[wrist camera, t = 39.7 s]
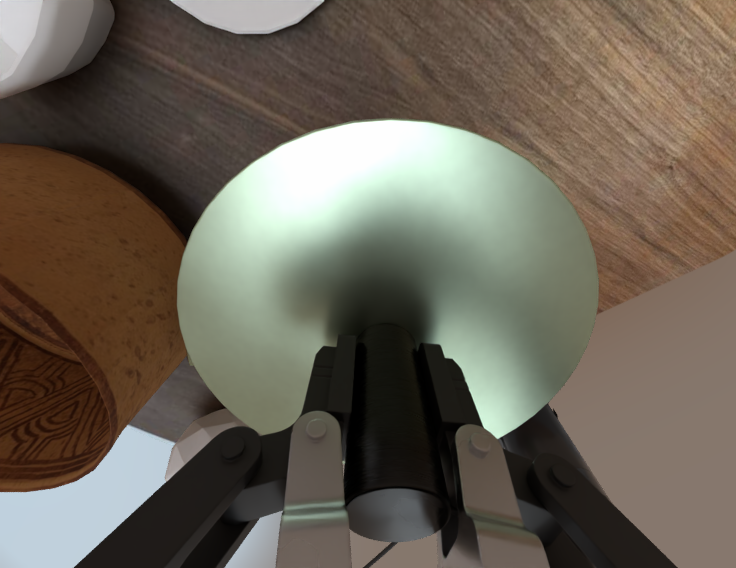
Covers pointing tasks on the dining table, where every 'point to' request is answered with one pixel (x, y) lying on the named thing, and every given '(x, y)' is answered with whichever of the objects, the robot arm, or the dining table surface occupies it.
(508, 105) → the dining table surface
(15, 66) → the bowl
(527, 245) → the lid
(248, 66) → the dining table surface
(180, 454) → the geometric shape
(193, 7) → the plate
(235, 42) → the dining table surface
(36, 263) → the pot
